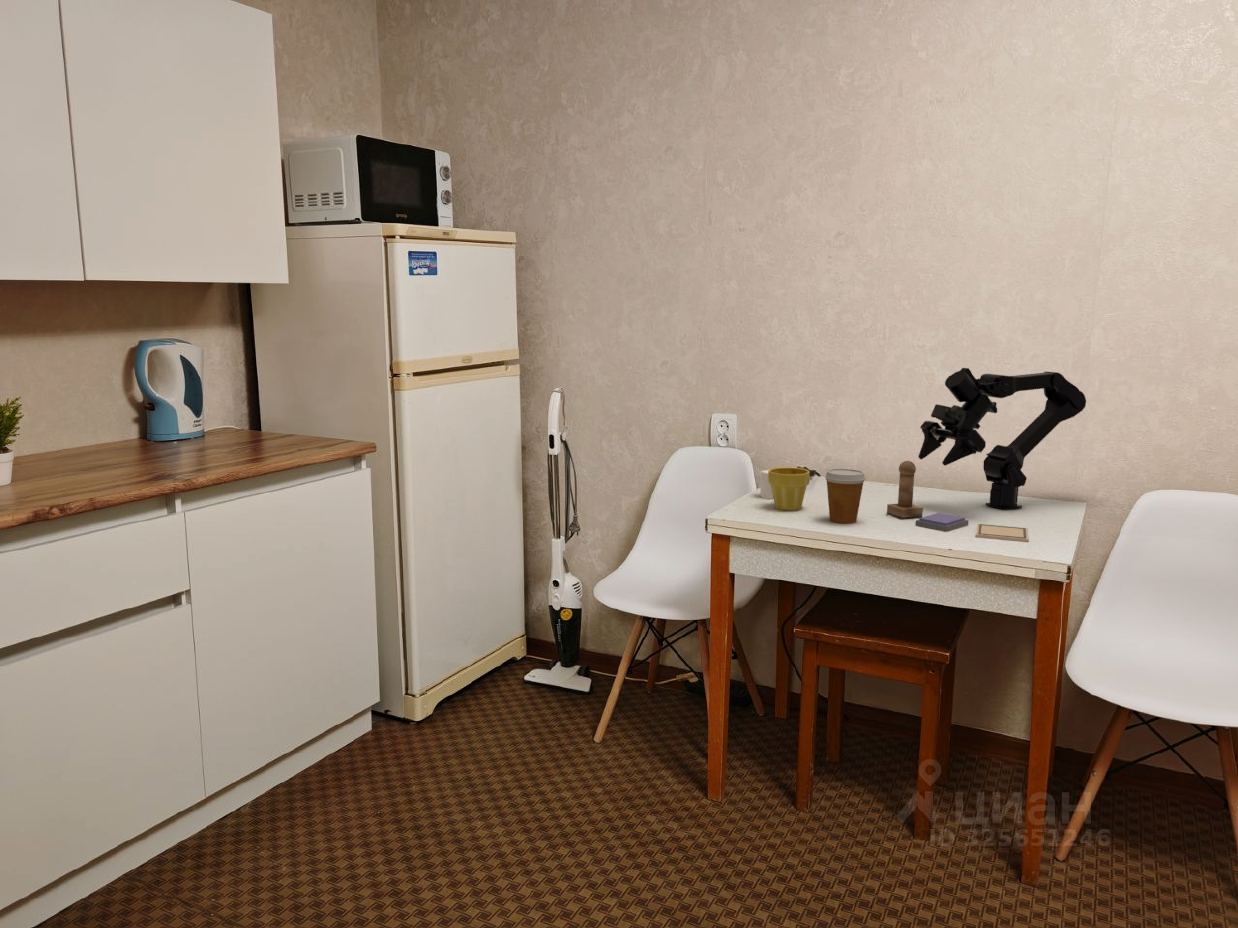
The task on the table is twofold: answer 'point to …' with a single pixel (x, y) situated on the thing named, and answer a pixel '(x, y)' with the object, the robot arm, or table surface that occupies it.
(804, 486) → the plant pot
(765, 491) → the white cube
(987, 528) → the beige square tile
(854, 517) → the disposable coffee cup
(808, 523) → the table surface
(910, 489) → the stamp
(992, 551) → the table surface
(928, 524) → the ink pad
